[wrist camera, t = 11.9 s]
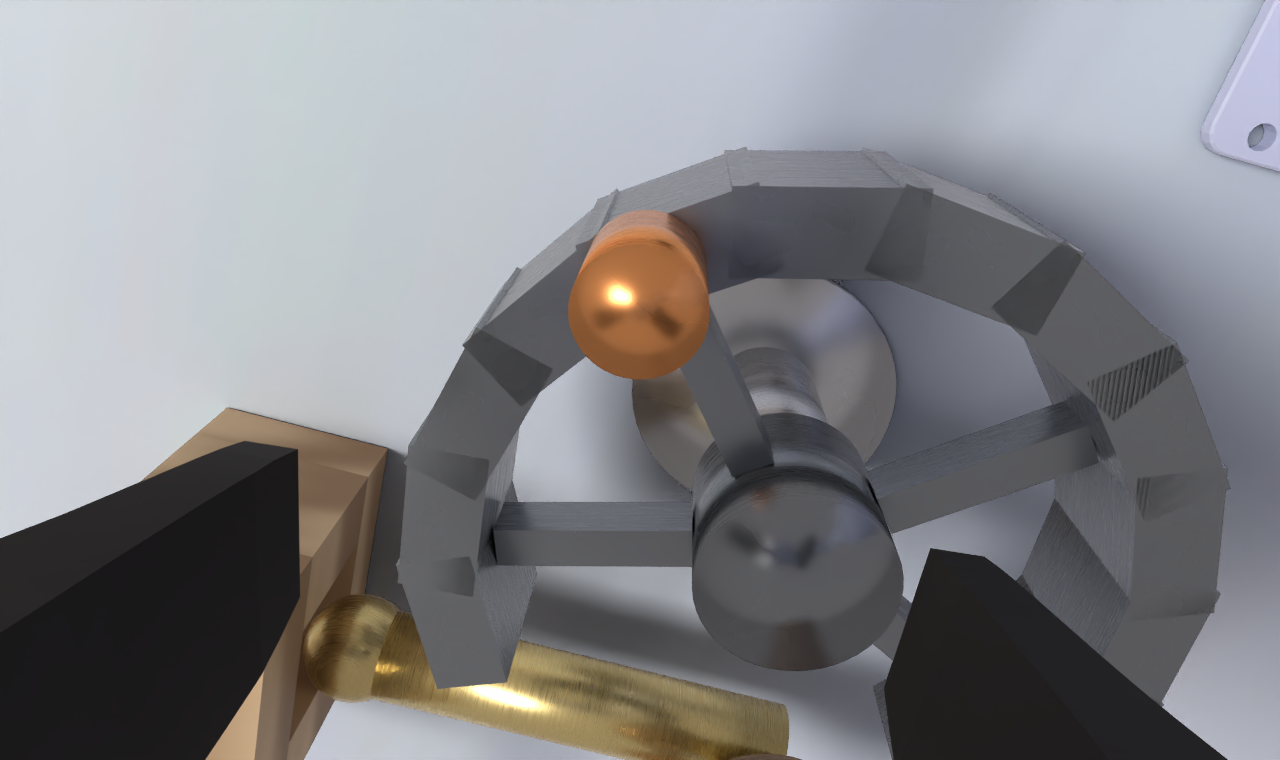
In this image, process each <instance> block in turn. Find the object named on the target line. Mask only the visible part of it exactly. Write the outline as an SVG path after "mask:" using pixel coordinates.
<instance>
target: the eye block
mask: <svg viewBox="0 0 1280 760" xmlns="http://www.w3.org/2000/svg"><path fill="white" fill-rule="evenodd" d="M242 441H250V442H256V443H262V444H269V445H275V446H281V447H288V448H294V449H298V481H299V551H300V598H299V600H298V602H297V605H296V607H295V609H294V611H293V613H292V615H291V617H290V619H289V621H288V623H287V626H286V628H285V630H284V632H283V634H282V636H281V638H280V640H279V642H278V644H277V646H276V648H275V650H274V652H273V654H272V656H271V658H270V660H269V662H268V664H267V666H266V668H265V669H264V671H263V673H262V675H261V677H260V678H259V680H258V681H257V683H256V684H255V686H254V687H253V689H252V691H251V692H250V694H249V695H248V697H247V698H246V700H245V701H244V703H243V704H242V706H241V707H240V709H239V710H238V712H237V713H236V715H235V716H234V718H233V719H232V721H231V722H230V724H229V725H228V727H227V728H226V730H225V731H224V733H223V734H222V736H221V737H220V739H219V740H218V742H217V743H216V745H215V746H214V748H213V749H212V751H211V752H210V754H209V755H208V757H207V758H206V760H304V758H305V756H306V754H307V753H308V751H309V749H310V747H311V745H312V743H313V741H314V739H315V737H316V735H317V733H318V731H319V729H320V727H321V726H322V724H323V722H324V720H325V718H326V716H327V714H328V712H329V710H330V708H331V706H332V704H333V702H334V701H335V700H334V699H332V698H330V697H328V696H326V695H324V694H323V693H322V692H320V691H319V690H318V689H317V688H316V687H315V686H314V684H313V683H312V682H311V680H310V679H309V677H308V675H307V673H306V670H305V667H304V662H303V644H304V639H305V636H306V633H307V631H308V628H309V627H310V625H311V623H312V621H313V620H314V619H315V617H316V616H317V615H318V614H319V613H320V612H321V611H322V610H323V609H324V608H325V607H326V606H327V605H329V604H330V603H332V602H334V601H335V600H337V599H340V598H342V597H345V596H348V595H354V594H365V589H366V583H367V577H368V570H369V564H370V558H371V552H372V545H373V539H374V533H375V527H376V520H377V514H378V508H379V502H380V495H381V489H382V483H383V477H384V470H385V464H386V458H387V452H388V448H384V447H380V446H376V445H372V444H368V443H364V442H360V441H356V440H352V439H348V438H344V437H340V436H336V435H333V434H329V433H325V432H321V431H317V430H313V429H309V428H305V427H301V426H297V425H293V424H289V423H285V422H281V421H277V420H273V419H269V418H266V417H262V416H258V415H254V414H250V413H246V412H242V411H238V410H234V409H230V408H226V409H225V410H224V411H223V412H221V413H220V414H219V415H218V416H217V417H216V418H214V419H213V420H212V421H211V422H210V423H208V424H207V425H206V426H205V427H204V428H203V429H201V430H200V431H199V432H198V433H197V434H196V435H194V436H193V437H192V438H191V439H190V440H189V441H187V442H186V443H185V444H184V445H183V446H182V447H180V448H179V449H178V450H177V451H176V452H175V453H173V454H172V455H171V456H170V457H169V458H168V459H166V460H165V461H164V462H163V463H162V464H161V465H159V466H158V467H157V468H156V469H155V470H154V471H152V472H151V473H150V474H149V475H148V476H147V477H145V478H144V479H143V480H142V481H144V480H146V479H149V478H151V477H153V476H156V475H158V474H160V473H163V472H165V471H167V470H170V469H172V468H174V467H177V466H179V465H181V464H184V463H186V462H189V461H191V460H194V459H196V458H198V457H201V456H203V455H206V454H208V453H211V452H213V451H216V450H219V449H221V448H224V447H227V446H230V445H233V444H236V443H239V442H242Z"/></svg>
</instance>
